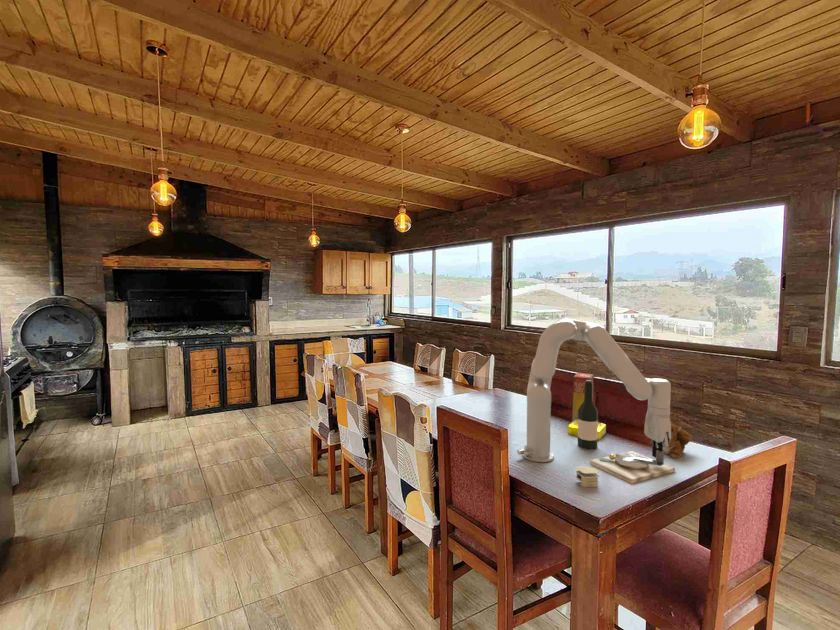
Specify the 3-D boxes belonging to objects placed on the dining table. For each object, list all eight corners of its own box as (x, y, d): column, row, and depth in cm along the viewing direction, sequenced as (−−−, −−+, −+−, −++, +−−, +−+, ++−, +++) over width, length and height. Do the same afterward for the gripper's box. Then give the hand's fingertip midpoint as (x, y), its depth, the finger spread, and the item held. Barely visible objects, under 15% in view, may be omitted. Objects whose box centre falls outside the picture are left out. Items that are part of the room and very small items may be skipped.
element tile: (575, 426, 213) (575, 417, 212) (606, 432, 204) (606, 422, 204) (566, 434, 201) (566, 424, 201) (599, 441, 192) (599, 430, 192)
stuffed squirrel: (650, 450, 179) (651, 421, 178) (673, 446, 184) (674, 417, 183) (671, 459, 169) (672, 428, 169) (695, 454, 174) (696, 424, 174)
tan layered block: (596, 479, 152) (596, 464, 151) (605, 491, 143) (606, 475, 143) (568, 479, 152) (568, 464, 152) (576, 490, 143) (577, 475, 143)
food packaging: (589, 425, 213) (590, 378, 212) (571, 422, 218) (571, 376, 217) (593, 419, 225) (594, 373, 224) (575, 416, 230) (576, 372, 228)
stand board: (631, 483, 148) (631, 478, 148) (589, 463, 165) (590, 459, 165) (675, 471, 158) (675, 467, 157) (631, 454, 175) (631, 450, 175)
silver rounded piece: (607, 464, 160) (608, 447, 160) (610, 454, 170) (610, 438, 170) (664, 474, 151) (664, 457, 150) (662, 463, 161) (663, 446, 161)
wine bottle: (599, 450, 179) (600, 382, 178) (579, 449, 181) (580, 381, 179) (595, 443, 187) (596, 378, 186) (576, 442, 189) (577, 378, 187)
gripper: (637, 405, 167) (636, 450, 168) (662, 416, 152) (660, 465, 153) (655, 405, 167) (654, 449, 168) (681, 416, 152) (679, 464, 153)
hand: (657, 456), depth 160 cm, fingers closed
